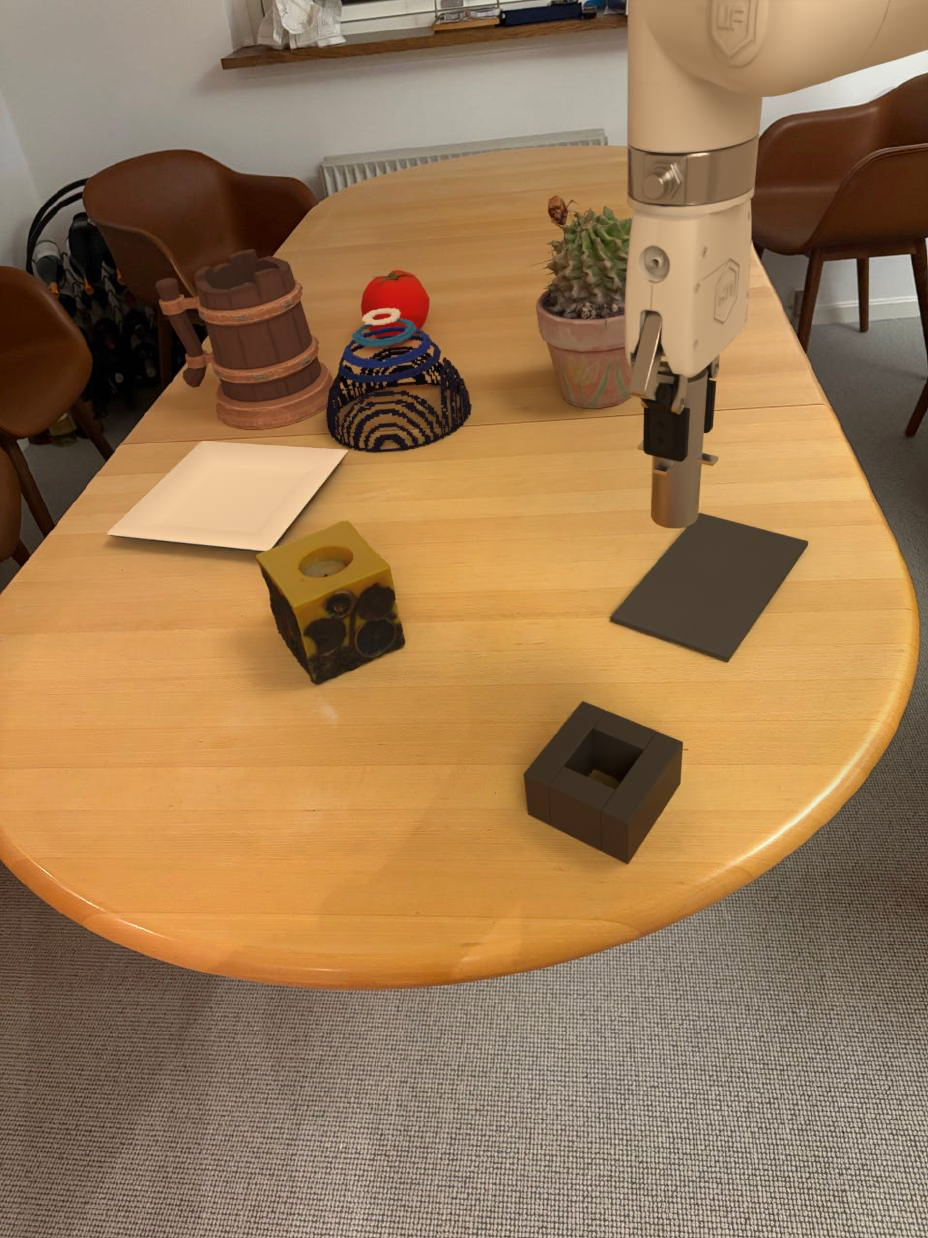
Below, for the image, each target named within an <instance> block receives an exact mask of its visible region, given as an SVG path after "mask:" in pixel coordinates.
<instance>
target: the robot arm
mask: <svg viewBox="0 0 928 1238" xmlns="http://www.w3.org/2000/svg"><path fill="white" fill-rule="evenodd" d="M925 51H928V0H627V103H626V104H627V109H626V110H627V111H626V115H627V119H626V120H627V121H626V123H627V125H626V126H627V127H626V128H627V129H626V130H627V131H626V133H627V136H626V138H627V139H626V142H627V145H626V147H627V148H626V149H627V150H626V151H627V154H626V155H627V157H626V158H627V162H626V163H627V165H626V166H627V167H626V168H627V169H626V170H627V172H626V173H627V175H626V176H627V179H626V183H627V186H626V187H627V188H626V191H627V192H626V203H627V206H629V207H630V208H631V209H633V211H632V214H631V215H632V216H631V219H632V223H631V231H630V240H629V250H628V261H627V274H626V290H625V315H624V338H625V354H626V360H627V362H628V364H629V366H630V367H631V368H633V372H632V376H631V381H630V385H629V394H630V395H632V396H631V397H636V398H639V399H640V406H641V408H643V432H642V433H643V434H642V437H643V439H642V441H643V450H642V451H643V453H644V454H645V455H648V456H651V457H652V456H656V457H660V458H664V459H669V460H673V461H678V462H682V461H684V460H685V458H686V457H687V455H688V439H689V420H690V408H685V407H684V406H685V400H686V391H687V383H688V378H691V377H694V376H695V375H697V374H698V373H700V372H701V371H702V370H703V369H704V368H705V367H706V369H707V371H708V376H707V391H706V406H705V421H704V434H708V433H710V432H711V431H712V429H714V421H715V419H714V418H715V408H716V407H715V405H716V394H717V393H716V391H717V380H715V379H716V378H717V376H718V374H719V371H720V354H721V353H722V352H724V350H725V349H726V348H727V347H728V346H729V345H730V344H731V343H732V342H733V341H734V339H736V338H737V337H738V336H739V335H740V333H741V332H742V330H743V329H744V328H745V325H746V323H747V321H748V315H749V314H748V313H749V301H750V300H749V299H750V282H751V261H752V259H751V258H752V200H751V199H752V198H753V197H754V195H755V188H756V175H757V174H756V173H757V164H758V163H757V162H758V153H759V143H760V142H759V141H760V130H761V120H762V118H761V117H762V111H763V98H772V97H778V96H783V95H788V94H792V93H796V92H798V91H801V90H805V89H808V88H810V87H815V86H817V85H818V86H819V85H820V84H824V83H827V82H830V81H833V80H835V79H837V78H841V77H844V76H848V75H850V74H854V73H856V72H857V73H858V72H860V71H863V70H866V69H870V68H873V67H876V66H881V65H884V64H887V63H891V62H894V61H897V60H900V59H904V58H907V57H910V56H913V55H916V54H919V53H922V52H925ZM662 357H665V359H666V360H662ZM657 374H660V375H666V376H671V377H674V382H673V390H672V389H671V388H670V386H669V385H668V384H665V383H661V382H659V381H658V380H657Z"/></svg>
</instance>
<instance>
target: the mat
mask: <svg viewBox="0 0 928 1238" xmlns="http://www.w3.org/2000/svg"><path fill="white" fill-rule="evenodd" d="M808 546H809V541H808V540H806V539H802V538H798V537H795V536H791V535H786V534H783V533H779V532H775V531H771V530H767V529H763V528H759V527H756V526H752V525H749V524H745V523H742V522H741V523H740V522H737V521H733V520H730V519H726V518H722V517H717V516H715V515H714V516H713V515H710V514H706V513H702V512H698V518H697V520H696V521H695V522H694V523H693V524H692V525H690V526H687V527H685V529H683V531H682V532H681V533H680V534H679V535H678V536H677V538H676V539H675V540H674V541H673V543H672V544H671V545H670V546H669V547H668V549H666V551H665V552H664V553H663V554H662V556H661V557H660V558H659V559H658V560H657V561H656V562H655V564H654V565H653V566H652V567H651V568H650V569H649V571H648V572H647V573H645V576H644V577H642V579H641V580H640V581H639V582H638V584H636V586H635V587H634V588H633V589H632V591H630V592H629V594H628V595H627V596H626V597H625V598H624V600H623V601H622V602H621V604H619V606H618V607H617V608H616V609H615V611H614V612H613V613H612V614H611V615H610V617H609V621H610V622H611V623H614V624H616V625H617V624H618V625H620V626H623V627H626V628H629V629H631V630H634V631H638V632H640V633H643V634H646V635H649V636H652V637H655V638H657V639H660V640H662V641H666V642H668V643H671V644H674V645H678V646H680V647H683V648H686V649H689V650H692V651H694V652H697V653H701V654H703V655H706V656H710V657H712V658H715V659H717V660H720V661H724V662H726V663H729V661H730V660H731V659H732V657H733V655H734V654H735V653H736V651H737V650H738V649H739V647H740V645H741V644H742V642H743V641H744V639H745V638H746V636H747V635H748V634H749V632H750V631H751V629H752V628H753V627H754V625H755V623H756V622H757V621H758V619H759V618H760V616H761V614H762V613H763V612H764V610H765V609H766V607H767V606H768V605H769V604H770V601H772V599H773V598H774V596H775V595H776V593H777V591H778V590H779V589H780V587H781V585H782V584H783V582H784V581H785V580H786V579H787V577H788V575H789V574H790V573H791V571H792V569H793V568H794V567H795V565H796V564H797V562H798V561H799V559H800V557H801V556H802V555H803V553H804V552H805V550H806V549H807V547H808Z"/></svg>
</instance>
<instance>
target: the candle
mask: <svg viewBox="0 0 928 1238" xmlns="http://www.w3.org/2000/svg"><path fill="white" fill-rule="evenodd" d="M255 559H256V562H257V565H258V567H259V569H260V573H261V576H262V578H263V580H264V582H265V585H266V587H267V589H268V596H269V605H270V610H271V613H272V616H273V619H274V621H275V625H276V630H277V632H278V633H277V634H279V635H280V636H281V638H282V640H283V641H284V643H285V645H286V647H287V648H288V649H289V650H290V652H291V655H292V656H293V657H294V658H295V659H296V662H297V663H299V664H300V667H301V668H303V670H304V671H305V672H306V674H308V676H309V678H310V682H312V683H313V684H314V685H317V686H318V685H322V684H324V682H327V681H330V680H332V679H336V678H337V677H338V676H340V675H343V674H345V673H346V672H351V671H354V670H356V669H358V668H359V667H361V666H363V665H366V664H368V663H370V662H372V661H374V660H376V659H380V658H381V657H383V656H384V655H386V654H389V653H391V652H394V651H396V650H399V649H401V648H403V647H404V646H405V644H406V638H405V634H404V629H403V624H402V621H401V619H400V616H399V608H398V605H397V602H396V601H397V596H396V591H395V584H394V578H393V574H392V569H391V565H390V564H389V563H388V562H387V561H386V560H385V559H384V557H382V556H381V555H380V554H379V553H378V552H376V551H375V550H374V549H373V548H372V547H371V546H370V545H369V543H368V542H367V541H366V540H365V539H364V537H362V535H361V534H360V533H359V532H358V530H357V529H356V528H355V527H354V525H353V524H352V523H351V522H350V521H349V520H341V521H339V522H336V523H335V524H333V525H330V526H328V527H326V528H323V529H320V530H317V531H314V532H311V533H310V534H307V535H304V536H302V537H300V538H297V539H294V540H292V541H291V540H290V541H289V542H286V543H283V544H280V545H278V546H274V547H273V548H272V549H270V550H267V551H264V552H258V553H257V554H256V555H255Z"/></svg>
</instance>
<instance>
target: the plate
mask: <svg viewBox="0 0 928 1238" xmlns="http://www.w3.org/2000/svg"><path fill="white" fill-rule="evenodd" d="M348 452H349V450H347V449H341V448H327V447H326V448H324V447H309V446H294V445H293V446H292V445H291V446H290V445H276V444H262V443H261V444H259V443H244V442H242V443H241V442H226V441H213V440H212V441H211V440H209V441H208V440H202V441H199V443H198V444H197V445H196V446H195V447H194V448H193V449H192V450H191V451H189V452H188V453H187V454H186V455H185V456H184V458H182V459H181V460H180V461H179V462H178V463H177V464H176V465H175V466H174V467H173V468H172V469H171V470H170V471H169V472H167V474H166V475H165V476H164V477H163V478H161V480H159V481H158V483H156V484H155V485H154V486H153V487H152V489H150V490H149V491H148V492H147V493H146V494H145V495H144V496H143V497H142V498H140V500H139V501H138V502H137V503H136V504H135V505H134V506H133V507H132V508H130V509H129V511H128V512H126V513H125V515H123V516H122V518H120V519H119V520H118V521H117V522H116V523H115V524H113V526H112V527H111V528H110V529H109V530H108V531H107V532H106V535H107V536H110V537H114V538H124V539H133V540H143V541H154V542H163V543H173V544H182V545H191V546H201V547H210V548H218V549H219V548H220V549H228V550H229V549H231V550H238V551H239V550H240V551H249V552H258V553H261V552H264V551H267V550H270V549H272V548H275V547H276V545H277V544H278V542H279V541H280V539H281V538H282V537H283V536H284V534H285V533H286V532H287V531H288V529H289V528H290V527H291V525H293V523H294V522H295V521H296V519H297V518H298V517H299V515H300V514H301V513H302V511H303V510H304V509H305V508H306V506H307V505H308V504H309V503H310V502H311V500H312V499H313V498H314V496H315V495H316V494H317V493H318V491H319V489H320V488H321V487H322V486H323V484H325V482H326V481H327V480H328V478H330V476H331V475H332V473H333V472H334V471H335V470H336V469H337V467H338V466H339V464H340V463H341V462H342V461H343V459H344V458H345V457H346V455H347V453H348Z"/></svg>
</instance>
